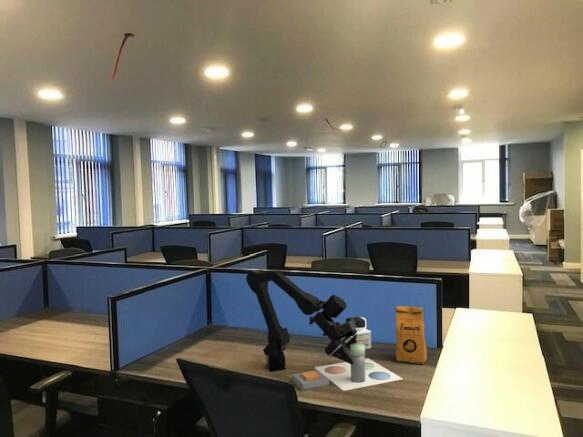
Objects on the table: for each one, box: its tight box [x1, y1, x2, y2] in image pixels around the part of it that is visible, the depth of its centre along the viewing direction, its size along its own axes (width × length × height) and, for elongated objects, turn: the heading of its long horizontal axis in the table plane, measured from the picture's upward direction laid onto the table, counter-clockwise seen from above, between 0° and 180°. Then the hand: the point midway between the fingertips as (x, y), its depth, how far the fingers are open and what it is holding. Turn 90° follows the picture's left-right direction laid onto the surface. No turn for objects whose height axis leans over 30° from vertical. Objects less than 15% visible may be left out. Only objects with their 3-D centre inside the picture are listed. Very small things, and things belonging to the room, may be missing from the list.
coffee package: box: [395, 305, 428, 365], centre depth 190 cm, size 10×12×22 cm
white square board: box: [314, 357, 404, 392], centre depth 177 cm, size 24×24×1 cm
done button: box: [300, 370, 320, 381], centre depth 170 cm, size 5×5×2 cm
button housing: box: [291, 369, 330, 392], centre depth 170 cm, size 10×10×2 cm
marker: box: [349, 343, 366, 383], centre depth 170 cm, size 5×5×12 cm
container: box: [351, 316, 372, 350], centre depth 209 cm, size 8×8×13 cm
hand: (357, 359), depth 170 cm, fingers open, 9 cm apart
